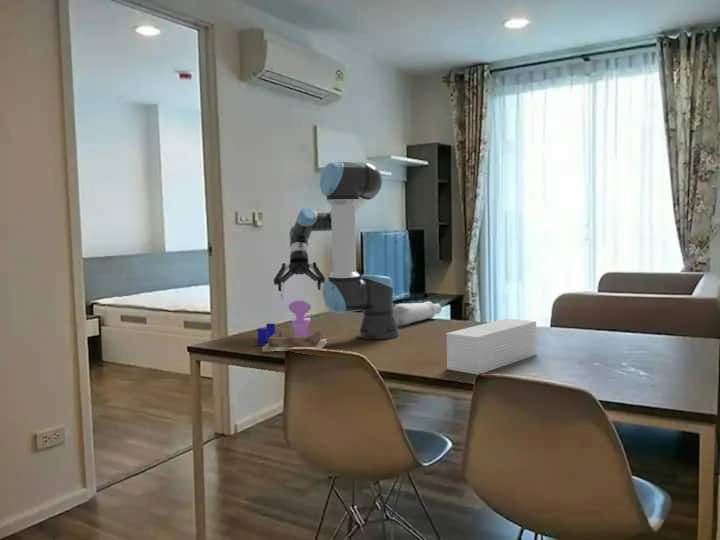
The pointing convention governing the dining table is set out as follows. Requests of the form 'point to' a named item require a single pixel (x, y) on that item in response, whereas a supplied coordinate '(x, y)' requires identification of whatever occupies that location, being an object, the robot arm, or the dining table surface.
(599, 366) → the dining table surface
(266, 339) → the cable clip
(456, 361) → the stack of papers
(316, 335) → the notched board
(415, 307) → the bottle
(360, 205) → the robot arm
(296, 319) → the purple upright piece
